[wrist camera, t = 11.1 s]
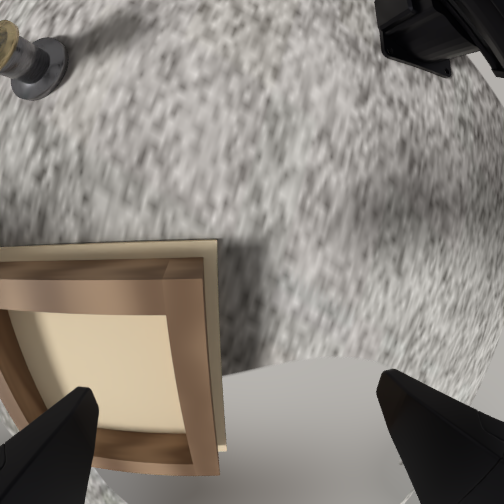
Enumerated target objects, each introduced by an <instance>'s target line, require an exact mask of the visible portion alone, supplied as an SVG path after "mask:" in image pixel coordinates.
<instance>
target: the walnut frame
mask: <svg viewBox="0 0 504 504" xmlns="http://www.w3.org/2000/svg"><path fill="white" fill-rule="evenodd" d="M8 310H18V311H32V312H47V313H66V314H92V315H166V319H167V327H168V335H169V342H170V349H171V355H172V362H173V368H174V374H175V380H176V386H177V391H178V397H179V402H180V407H181V412H182V417H183V422H184V427H185V431H186V434H172V433H148V432H133V431H122V430H112V429H104V428H97V433H96V442H95V451H94V456H93V461H92V466H91V467H96V468H102V469H108V470H115V471H123V472H132V473H142V474H154V475H173V476H177V475H178V476H215V475H216V476H217V475H220V469H219V457H218V445H217V436H216V427H215V417H214V407H213V397H212V386H211V374H210V362H209V349H208V334H207V319H206V301H205V281H204V257H186V258H146V259H103V260H58V261H9V262H0V399H1V400H2V402H3V404H4V406H5V408H6V409H7V411H8V413H9V414H10V416H11V418H12V419H13V421H14V423H15V424H16V426H17V428H18V429H19V431H21V430H22V429H23V428H25V427H26V426H27V425H28V424H30V423H31V422H32V421H34V420H35V419H36V418H37V417H39V416H40V415H41V414H43V413H44V412H45V411H47V410H48V409H47V407H46V405H45V403H44V401H43V399H42V397H41V395H40V393H39V391H38V389H37V387H36V385H35V382H34V380H33V378H32V376H31V373H30V371H29V369H28V366H27V364H26V361H25V359H24V356H23V354H22V351H21V348H20V346H19V343H18V340H17V337H16V335H15V332H14V329H13V326H12V323H11V319H10V316H9V313H8Z"/></svg>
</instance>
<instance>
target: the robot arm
mask: <svg viewBox="0 0 504 504" xmlns="http://www.w3.org/2000/svg"><path fill="white" fill-rule="evenodd" d="M374 3H375V10H376V17H377V25H378V28H379V32H380V41H381V51H382V53H383V55H384V56H385V57H387V58H389V59H393V60H396V61H399V62H402V63H405V64H408V65H411V66H414V67H417V68H420V69H423V70H426V71H428V72H431V73H434V74H436V75H439V76H441V77H444V78H448V77H450V76H451V67H450V59H452V58H456V57H459V56H463V55H466V54H470V53H474V52H477V51H481V53H482V54H483V56H484V57H485V59H486V60H487V62H488V63H489V64H490V66H491V68H492V71H493V73H494V74H495V76H496V77H501V78H504V0H375V2H374ZM387 49H388V50H389V51H390V53H389V52H388V50H387ZM445 71H446V72H445ZM376 393H377V398H378V401H379V403H380V406H381V409H382V412H383V415H384V418H385V421H386V425H387V428H388V430H389V433H390V435H391V438H392V439H393V442H394V444H395V446H396V448H397V451H398V453H399V455H400V457H401V459H402V462H403V464H404V466H405V468H406V470H407V473H408V475H409V478H410V480H411V482H412V484H413V487H414V489H415V491H416V494H417V496H418V498H419V500H420V503H421V504H504V422H502V421H500V420H498V419H495V418H493V417H491V416H489V415H486V414H484V413H482V412H480V411H477V410H476V409H474V408H472V407H470V406H468V405H466V404H464V403H462V402H459V401H457V400H455V399H453V398H451V397H449V396H447V395H445V394H443V393H441V392H439V391H437V390H435V389H433V388H431V387H429V386H427V385H426V384H424V383H422V382H420V381H418V380H416V379H414V378H412V377H410V376H408V375H406V374H404V373H402V372H400V371H398V370H396V369H390V370H386V371H383V373H382V374H381V377H380V380H379V384H378V387H377V391H376ZM98 417H99V406H98V404H97V401H96V399H95V397H94V394H93V392H92V390H91V389H90V388H89V387H82V386H78V387H76V388H75V389H74V390H72V391H71V392H70V393H68V394H67V395H66V396H65V397H63V398H62V399H61V400H59V401H58V402H57V403H56V404H54V405H53V406H52V407H50V408H49V409H48V410H47V411H45V412H44V413H43V414H41V415H40V416H39V417H37V418H36V419H35V420H34V421H32V422H31V423H30V424H28V425H27V426H26V427H25V428H23V429H22V430H21V431H19V432H18V433H17V434H16V435H14V436H13V437H12V438H11V439H9V440H8V441H6V442H5V444H2V445H1V446H0V504H84V502H85V497H86V491H87V486H88V480H89V475H90V471H91V466H92V461H93V456H94V451H95V442H96V433H97V425H98Z"/></svg>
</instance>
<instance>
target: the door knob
mask: <svg viewBox="0 0 504 504" xmlns="http://www.w3.org/2000/svg"><path fill="white" fill-rule="evenodd" d="M67 65H68V52H67V49H66V48H65V46H64V45H63V44H62V43H60V42H59V41H58V40H56V39H54V38H49V37H47V38H42V39H39V40H37V41H35V42H33V43H31V42H29V41H27V40H26V39H24V38H22V37H21V36H19V29H18V27H17V26H16V25H15V24H13V23H12V22H10V21H8V20H2V21H0V75H3V76H6V77H9V78H11V86H12V90H13V92H14V93H15V94H16V95H17V96H18V97H19V98H22V99H26V100H31V101H34V100H39V99H41V98H43V97H45V96H47V95H48V94H50V93H51V92H52V91H53V90H54V89H55V88H56V87H57V86H58V84H59V83H60V81H61V80H62V78H63V76H64V74H65V72H66V69H67Z"/></svg>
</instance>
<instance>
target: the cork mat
mask: <svg viewBox="0 0 504 504" xmlns="http://www.w3.org/2000/svg"><path fill="white" fill-rule="evenodd" d="M186 257H204V281H205V301H206V319H207V334H208V349H209V362H210V374H211V386H212V397H213V407H214V417H215V427H216V436H217V445H218V452H219V451H227V445H226V433H225V418H224V403H223V388H222V370H221V350H220V328H219V301H218V266H217V240H178V241H144V242H113V243H86V244H61V245H38V246H17V247H0V262H9V261H58V260H103V259H146V258H186ZM8 313H9V316H10V319H11V323H12V326H13V329H14V332H15V335H16V337H17V340H18V343H19V346H20V348H21V351H22V354H23V356H24V359H25V361H26V364H27V366H28V369H29V371H30V373H31V376H32V378H33V380H34V382H35V385H36V387H37V389H38V391H39V393H40V395H41V397H42V399H43V401H44V403H45V405H46V407H47V409H49V408H50V407H52V406H53V405H54V404H56V403H57V402H58V401H59V400H61V399H62V398H63V397H65V396H66V395H67V394H68V393H70V392H71V391H72V390H74V389H75V388H76V387H78V386H82V387H89V388H90V389H91V390H92V392H93V394H94V397H95V399H96V401H97V404H98V406H99V417H98V425H97V428H104V429H112V430H122V431H133V432H148V433H172V434H186V431H185V427H184V422H183V417H182V412H181V407H180V402H179V397H178V391H177V386H176V380H175V374H174V368H173V362H172V355H171V349H170V342H169V335H168V327H167V319H166V315H92V314H66V313H47V312H32V311H18V310H8Z"/></svg>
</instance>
